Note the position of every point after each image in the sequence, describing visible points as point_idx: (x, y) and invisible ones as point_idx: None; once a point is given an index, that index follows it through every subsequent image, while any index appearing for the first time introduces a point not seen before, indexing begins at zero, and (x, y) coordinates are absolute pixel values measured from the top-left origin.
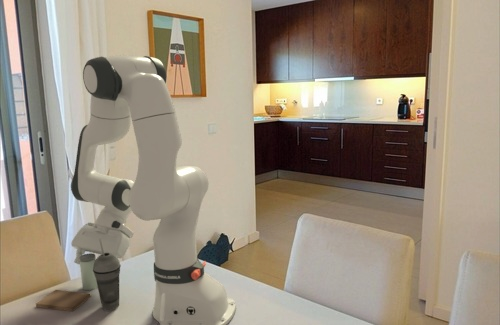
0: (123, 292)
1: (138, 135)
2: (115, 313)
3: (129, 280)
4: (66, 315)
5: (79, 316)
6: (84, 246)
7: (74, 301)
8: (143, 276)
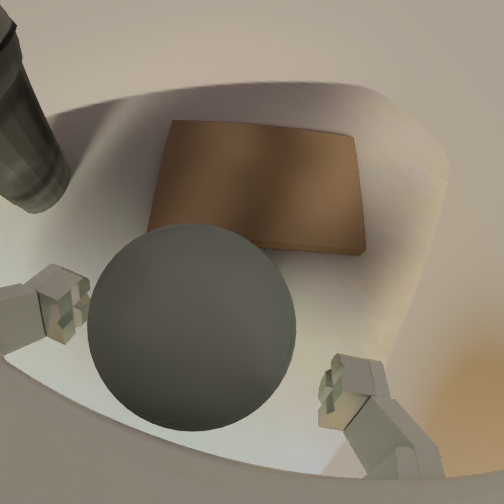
0: None
1: None
2: None
3: None
4: (184, 108)
5: (133, 112)
6: (347, 494)
7: (190, 159)
8: None
